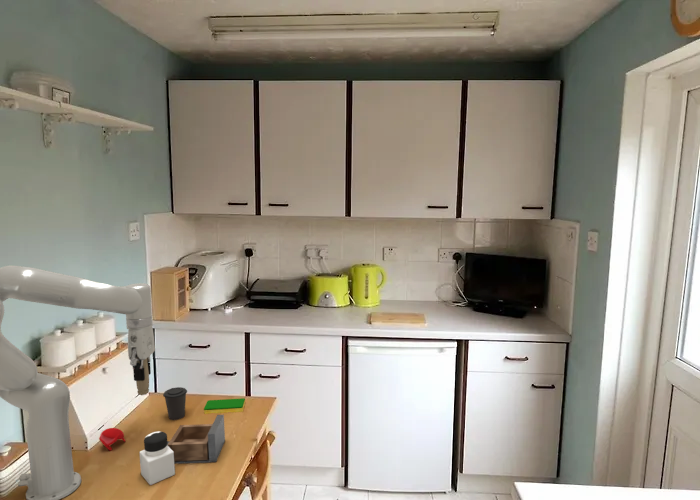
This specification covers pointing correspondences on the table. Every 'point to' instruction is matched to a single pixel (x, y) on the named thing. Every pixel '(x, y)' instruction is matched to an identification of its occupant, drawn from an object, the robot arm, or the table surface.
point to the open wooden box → (190, 442)
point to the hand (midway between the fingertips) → (142, 376)
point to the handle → (144, 385)
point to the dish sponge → (224, 406)
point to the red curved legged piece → (111, 437)
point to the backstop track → (212, 441)
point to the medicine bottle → (156, 458)
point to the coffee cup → (175, 402)
